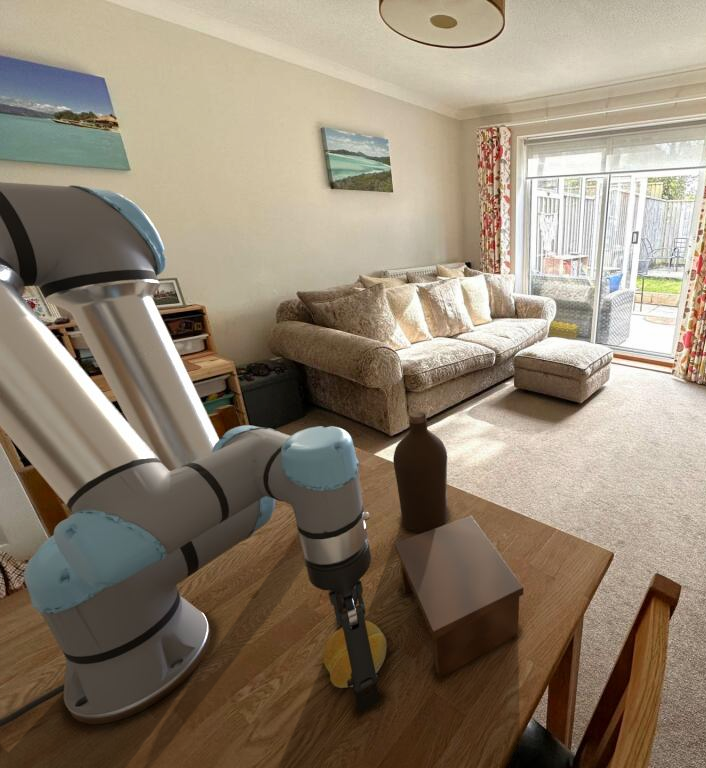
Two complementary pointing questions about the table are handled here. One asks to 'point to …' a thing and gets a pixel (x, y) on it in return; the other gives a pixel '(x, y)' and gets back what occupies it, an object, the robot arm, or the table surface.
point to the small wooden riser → (460, 591)
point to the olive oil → (421, 476)
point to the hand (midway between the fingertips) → (357, 658)
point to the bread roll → (339, 659)
